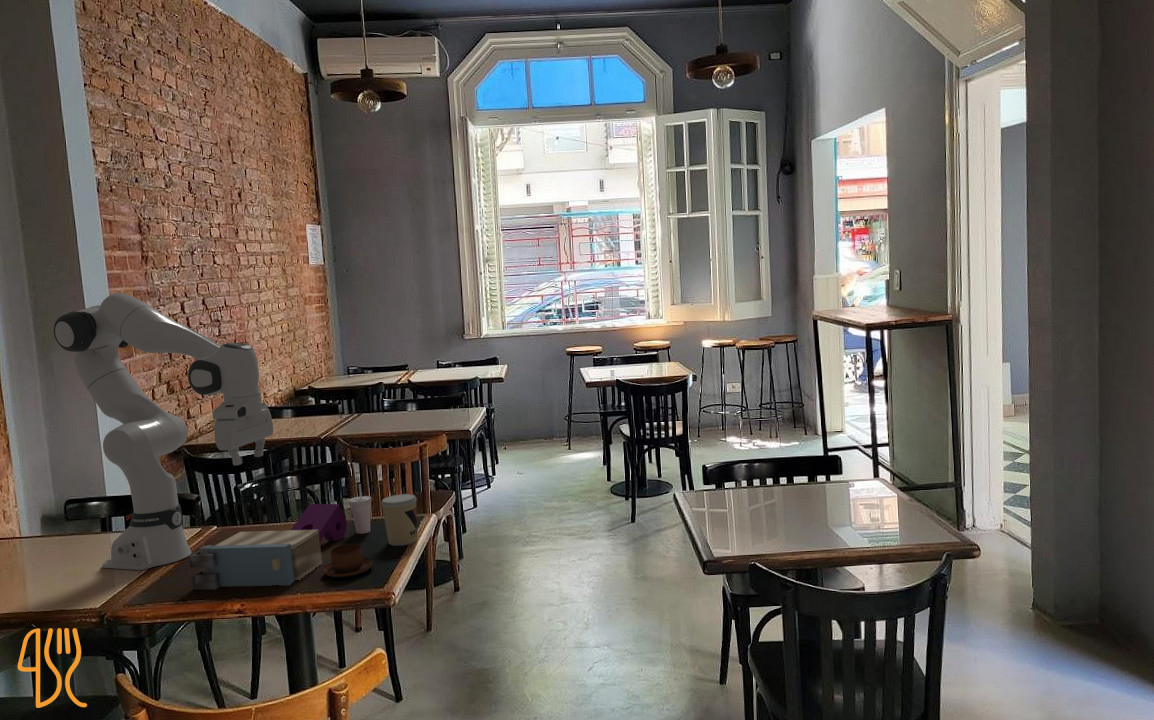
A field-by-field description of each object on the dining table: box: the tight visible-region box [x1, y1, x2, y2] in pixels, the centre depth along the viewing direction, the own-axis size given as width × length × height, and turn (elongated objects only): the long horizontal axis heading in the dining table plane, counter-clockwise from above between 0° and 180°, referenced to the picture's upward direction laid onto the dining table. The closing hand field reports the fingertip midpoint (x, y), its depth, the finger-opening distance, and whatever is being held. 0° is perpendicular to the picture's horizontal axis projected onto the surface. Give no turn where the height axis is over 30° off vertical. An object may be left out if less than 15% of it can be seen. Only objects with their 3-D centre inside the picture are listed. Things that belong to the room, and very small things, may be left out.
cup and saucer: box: [322, 543, 374, 578], centre depth 210 cm, size 12×12×6 cm
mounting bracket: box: [290, 503, 348, 542], centre depth 236 cm, size 10×9×19 cm
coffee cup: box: [381, 493, 418, 547], centre depth 232 cm, size 9×9×12 cm
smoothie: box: [348, 483, 372, 535], centre depth 244 cm, size 6×6×14 cm
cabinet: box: [188, 529, 323, 591], centre depth 212 cm, size 25×17×9 cm
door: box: [198, 544, 296, 587], centre depth 206 cm, size 23×4×10 cm, turn 80°
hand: (248, 460), depth 217 cm, fingers open, 8 cm apart
